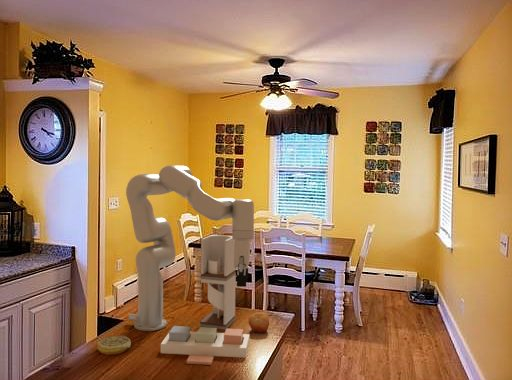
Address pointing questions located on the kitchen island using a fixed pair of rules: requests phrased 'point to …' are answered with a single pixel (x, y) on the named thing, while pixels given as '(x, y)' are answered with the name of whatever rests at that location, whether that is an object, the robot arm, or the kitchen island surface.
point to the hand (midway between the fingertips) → (242, 282)
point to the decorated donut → (114, 345)
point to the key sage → (206, 335)
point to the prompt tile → (200, 359)
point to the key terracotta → (233, 336)
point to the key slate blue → (179, 333)
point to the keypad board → (206, 347)
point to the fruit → (259, 322)
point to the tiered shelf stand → (219, 279)
